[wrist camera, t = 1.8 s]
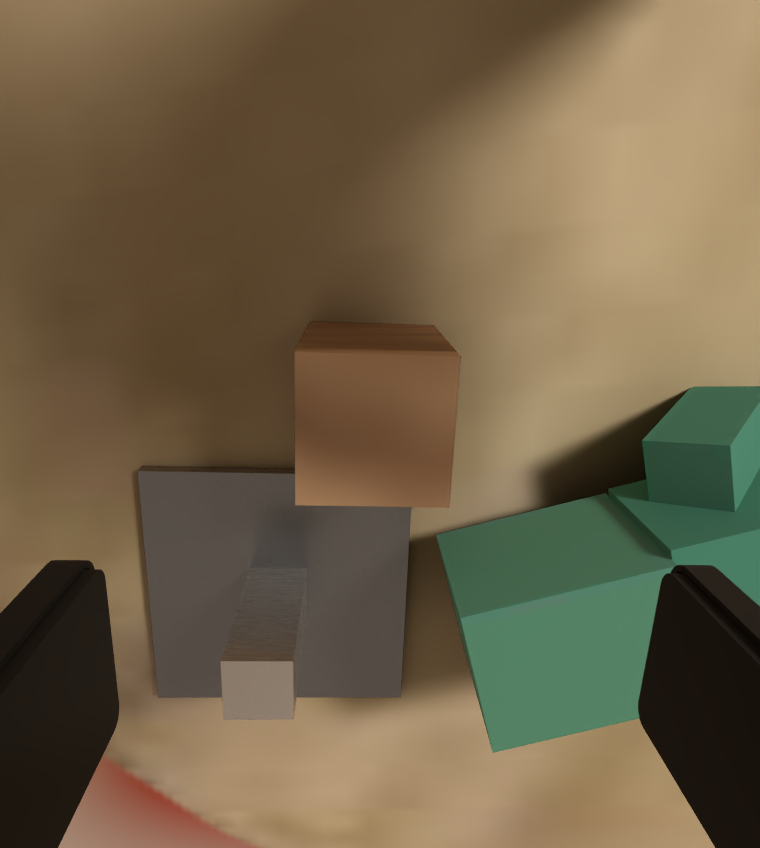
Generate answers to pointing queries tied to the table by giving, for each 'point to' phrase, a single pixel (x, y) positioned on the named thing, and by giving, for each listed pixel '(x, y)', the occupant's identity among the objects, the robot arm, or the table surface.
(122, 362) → the table surface
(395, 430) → the tan cardboard carton
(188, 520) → the grey base plate
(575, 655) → the toy
